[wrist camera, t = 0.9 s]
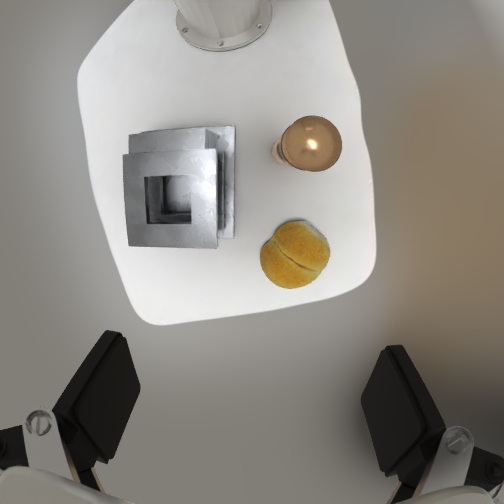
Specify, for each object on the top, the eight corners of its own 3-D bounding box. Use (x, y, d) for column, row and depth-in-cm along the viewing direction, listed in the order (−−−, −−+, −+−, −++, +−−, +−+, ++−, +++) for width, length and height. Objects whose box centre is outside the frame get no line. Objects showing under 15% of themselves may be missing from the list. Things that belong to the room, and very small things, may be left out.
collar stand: (144, 132, 31) (112, 128, 23) (235, 127, 31) (226, 117, 23) (148, 234, 36) (120, 256, 28) (234, 236, 36) (225, 260, 28)
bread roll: (249, 261, 37) (247, 273, 33) (292, 209, 34) (295, 215, 31) (296, 294, 38) (299, 308, 35) (338, 247, 36) (346, 257, 32)
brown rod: (271, 139, 31) (284, 112, 13) (296, 140, 31) (343, 118, 12) (270, 163, 32) (283, 170, 14) (296, 164, 32) (341, 174, 14)
